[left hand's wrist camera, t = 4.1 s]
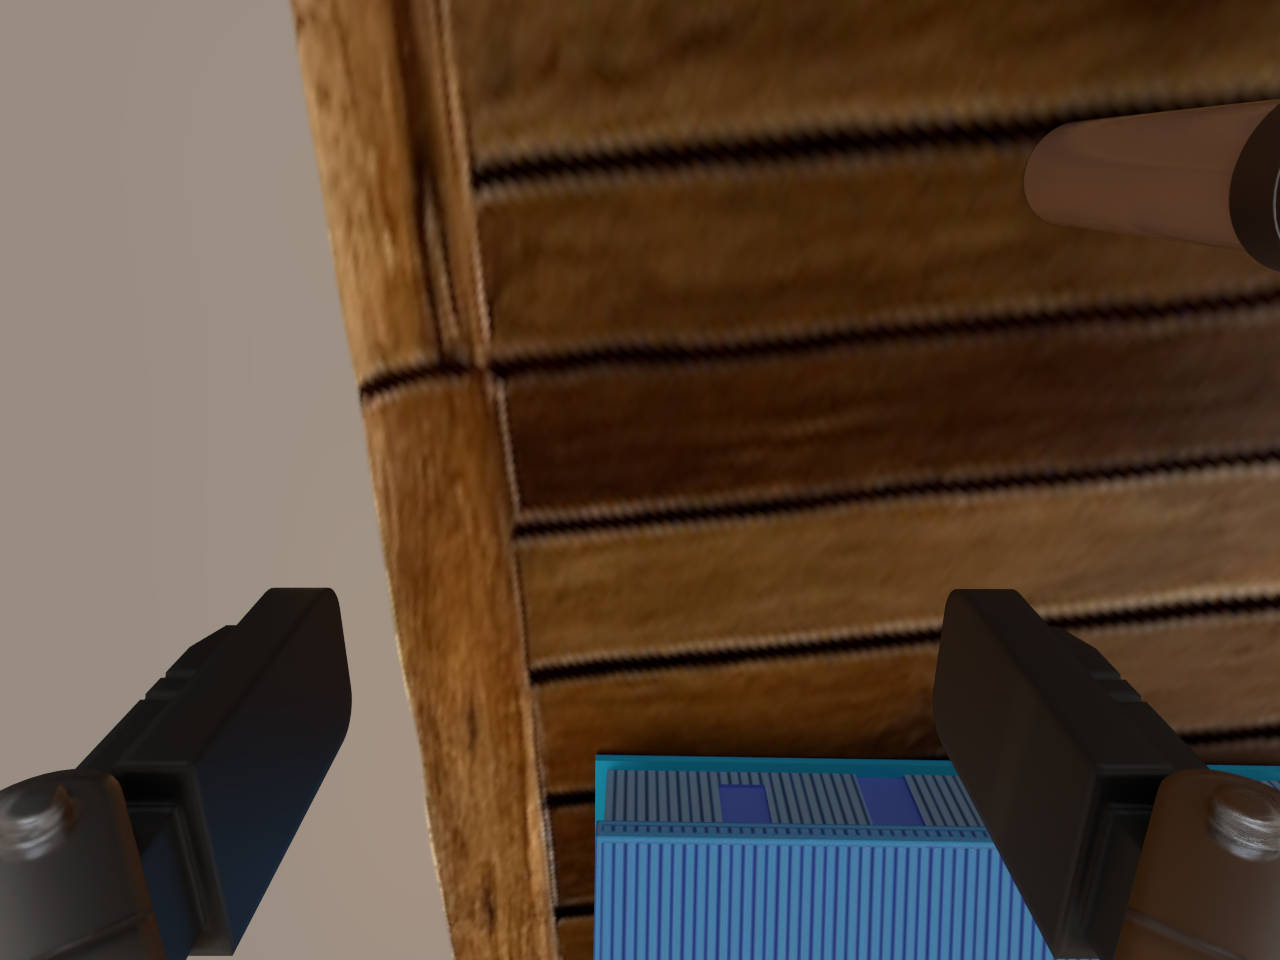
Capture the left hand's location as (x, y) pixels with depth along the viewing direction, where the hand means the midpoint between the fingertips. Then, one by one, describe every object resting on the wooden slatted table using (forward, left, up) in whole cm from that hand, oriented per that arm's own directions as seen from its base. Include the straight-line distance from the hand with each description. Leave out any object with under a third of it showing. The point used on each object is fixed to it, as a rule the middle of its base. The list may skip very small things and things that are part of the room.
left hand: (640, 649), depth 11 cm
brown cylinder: (-6, +19, -29) cm, 35 cm away
